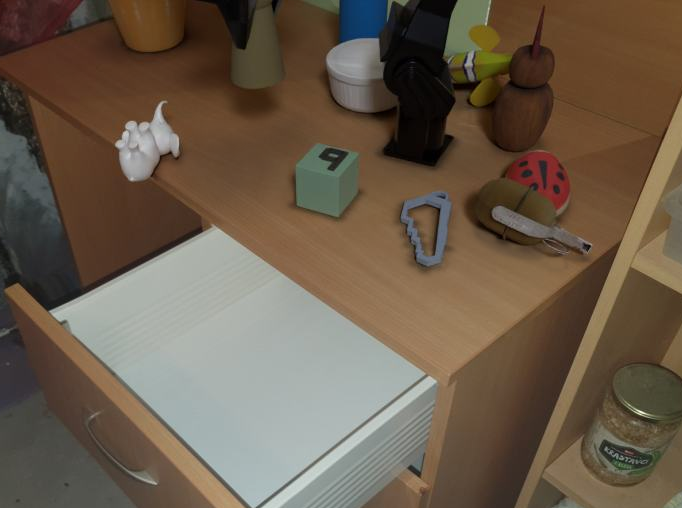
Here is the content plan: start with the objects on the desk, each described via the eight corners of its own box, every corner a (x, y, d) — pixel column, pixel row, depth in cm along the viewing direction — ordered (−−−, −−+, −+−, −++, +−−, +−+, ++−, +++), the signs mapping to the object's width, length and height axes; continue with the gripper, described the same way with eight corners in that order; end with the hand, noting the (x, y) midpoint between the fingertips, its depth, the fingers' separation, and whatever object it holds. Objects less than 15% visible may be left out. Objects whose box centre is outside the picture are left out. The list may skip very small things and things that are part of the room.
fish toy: (515, 102, 85) (536, 100, 94) (514, 14, 82) (536, 21, 91) (395, 114, 92) (425, 112, 102) (391, 34, 90) (423, 39, 99)
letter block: (338, 217, 76) (338, 175, 72) (296, 206, 78) (294, 163, 74) (358, 193, 79) (359, 151, 75) (317, 182, 81) (316, 140, 77)
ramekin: (343, 124, 89) (344, 84, 85) (313, 85, 97) (313, 46, 93) (426, 108, 91) (431, 67, 87) (391, 70, 99) (393, 31, 95)
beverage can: (384, 48, 104) (390, -42, 95) (384, 69, 99) (390, -24, 91) (339, 48, 105) (340, -41, 96) (337, 68, 100) (338, -24, 91)
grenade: (472, 213, 76) (578, 268, 73) (456, 225, 71) (569, 283, 68) (498, 162, 73) (610, 216, 70) (483, 170, 68) (603, 228, 65)
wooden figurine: (506, 124, 88) (531, -4, 77) (551, 138, 85) (583, 7, 75) (479, 148, 84) (501, 17, 74) (524, 164, 82) (555, 30, 71)
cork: (293, 81, 78) (286, -28, 71) (240, 93, 77) (227, -16, 70) (275, 60, 83) (267, -45, 75) (224, 71, 81) (211, -34, 74)
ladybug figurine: (560, 168, 80) (569, 141, 77) (574, 228, 74) (585, 200, 71) (498, 165, 80) (506, 138, 78) (507, 224, 74) (515, 196, 71)
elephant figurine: (131, 81, 84) (149, 124, 90) (88, 154, 79) (109, 195, 84) (188, 85, 82) (203, 128, 87) (148, 160, 77) (166, 202, 82)
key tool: (393, 268, 71) (445, 269, 69) (392, 261, 70) (445, 261, 69) (405, 198, 79) (452, 197, 77) (405, 191, 78) (452, 190, 77)
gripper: (224, -160, 75) (237, -3, 86) (106, -112, 64) (139, 61, 75) (319, -152, 70) (320, 12, 82) (211, -99, 59) (229, 83, 71)
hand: (253, 40), depth 77 cm, fingers closed on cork, 4 cm apart
